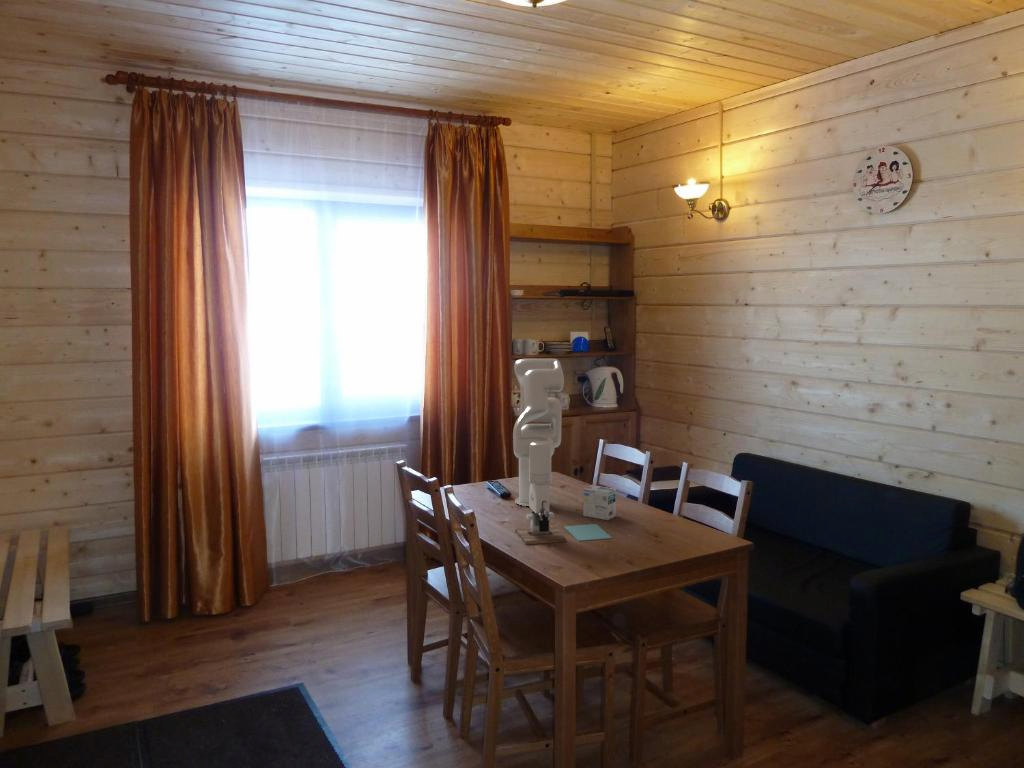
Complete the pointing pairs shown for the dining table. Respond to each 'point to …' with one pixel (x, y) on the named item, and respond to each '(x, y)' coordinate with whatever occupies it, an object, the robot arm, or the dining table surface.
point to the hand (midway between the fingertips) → (540, 527)
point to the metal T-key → (537, 523)
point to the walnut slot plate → (553, 537)
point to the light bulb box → (599, 502)
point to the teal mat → (587, 532)
